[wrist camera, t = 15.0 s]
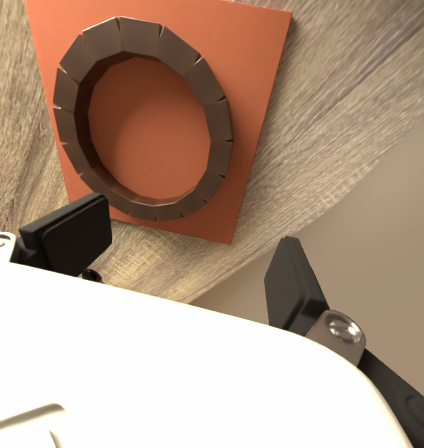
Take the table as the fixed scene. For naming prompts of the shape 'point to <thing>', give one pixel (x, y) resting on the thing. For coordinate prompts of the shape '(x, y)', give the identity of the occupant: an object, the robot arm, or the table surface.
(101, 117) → the mat
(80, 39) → the hoop
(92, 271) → the hook post
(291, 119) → the table surface
